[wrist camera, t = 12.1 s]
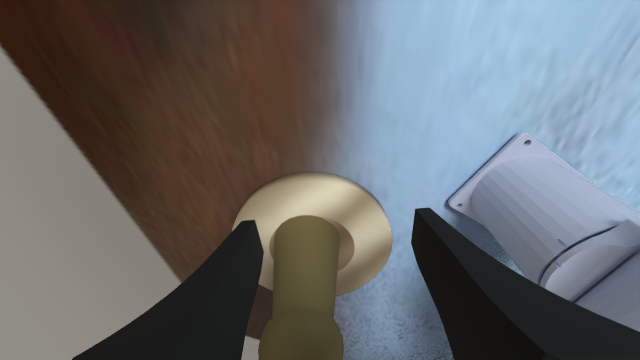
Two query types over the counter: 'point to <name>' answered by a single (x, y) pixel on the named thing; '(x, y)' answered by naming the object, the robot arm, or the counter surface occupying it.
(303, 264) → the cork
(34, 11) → the counter surface
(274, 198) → the birch stand
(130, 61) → the counter surface
